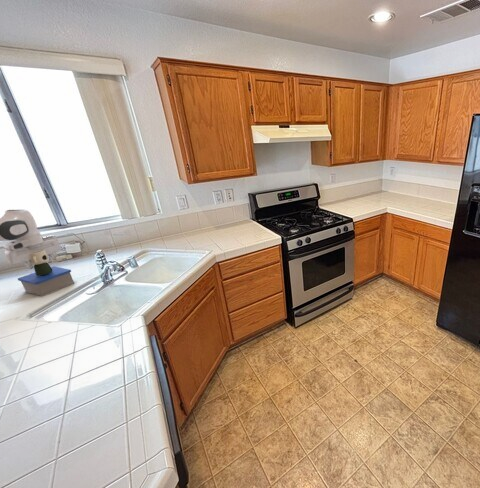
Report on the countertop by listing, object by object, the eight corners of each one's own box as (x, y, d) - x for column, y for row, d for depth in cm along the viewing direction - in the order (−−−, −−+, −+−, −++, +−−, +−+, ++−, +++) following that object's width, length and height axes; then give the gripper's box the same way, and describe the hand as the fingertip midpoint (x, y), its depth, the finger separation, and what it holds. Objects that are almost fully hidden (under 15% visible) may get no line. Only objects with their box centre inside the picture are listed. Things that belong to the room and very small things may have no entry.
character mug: (51, 275, 136) (41, 252, 132) (32, 279, 133) (21, 256, 128) (56, 268, 145) (47, 246, 140) (38, 271, 141) (28, 249, 136)
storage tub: (41, 296, 133) (34, 282, 130) (24, 292, 137) (17, 278, 134) (76, 282, 146) (70, 269, 143) (59, 279, 151) (53, 266, 148)
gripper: (51, 233, 142) (61, 256, 147) (-2, 246, 124) (11, 272, 129) (59, 234, 140) (68, 258, 145) (5, 248, 122) (18, 274, 127)
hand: (41, 265), depth 137 cm, fingers closed on character mug, 7 cm apart
